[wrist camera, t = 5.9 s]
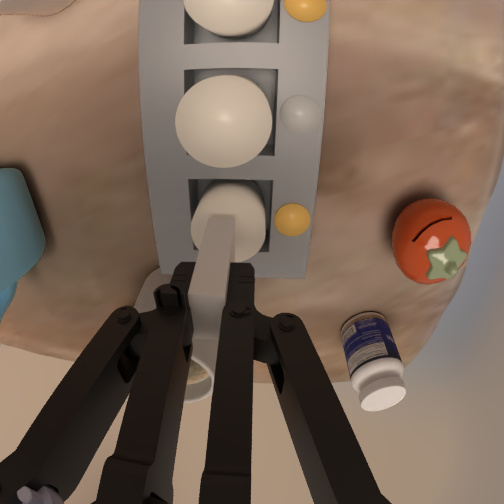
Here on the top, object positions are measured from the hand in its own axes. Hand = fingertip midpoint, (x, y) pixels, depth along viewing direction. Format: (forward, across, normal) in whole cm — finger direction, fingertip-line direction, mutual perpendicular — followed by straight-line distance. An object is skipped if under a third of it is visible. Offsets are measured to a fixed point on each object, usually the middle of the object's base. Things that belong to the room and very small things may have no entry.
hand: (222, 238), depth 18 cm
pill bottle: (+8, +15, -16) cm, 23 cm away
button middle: (+3, 0, +7) cm, 8 cm away
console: (+8, 0, +7) cm, 10 cm away
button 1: (+5, 0, 0) cm, 5 cm away
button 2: (+5, 0, +14) cm, 15 cm away
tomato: (+8, +17, -2) cm, 19 cm away
